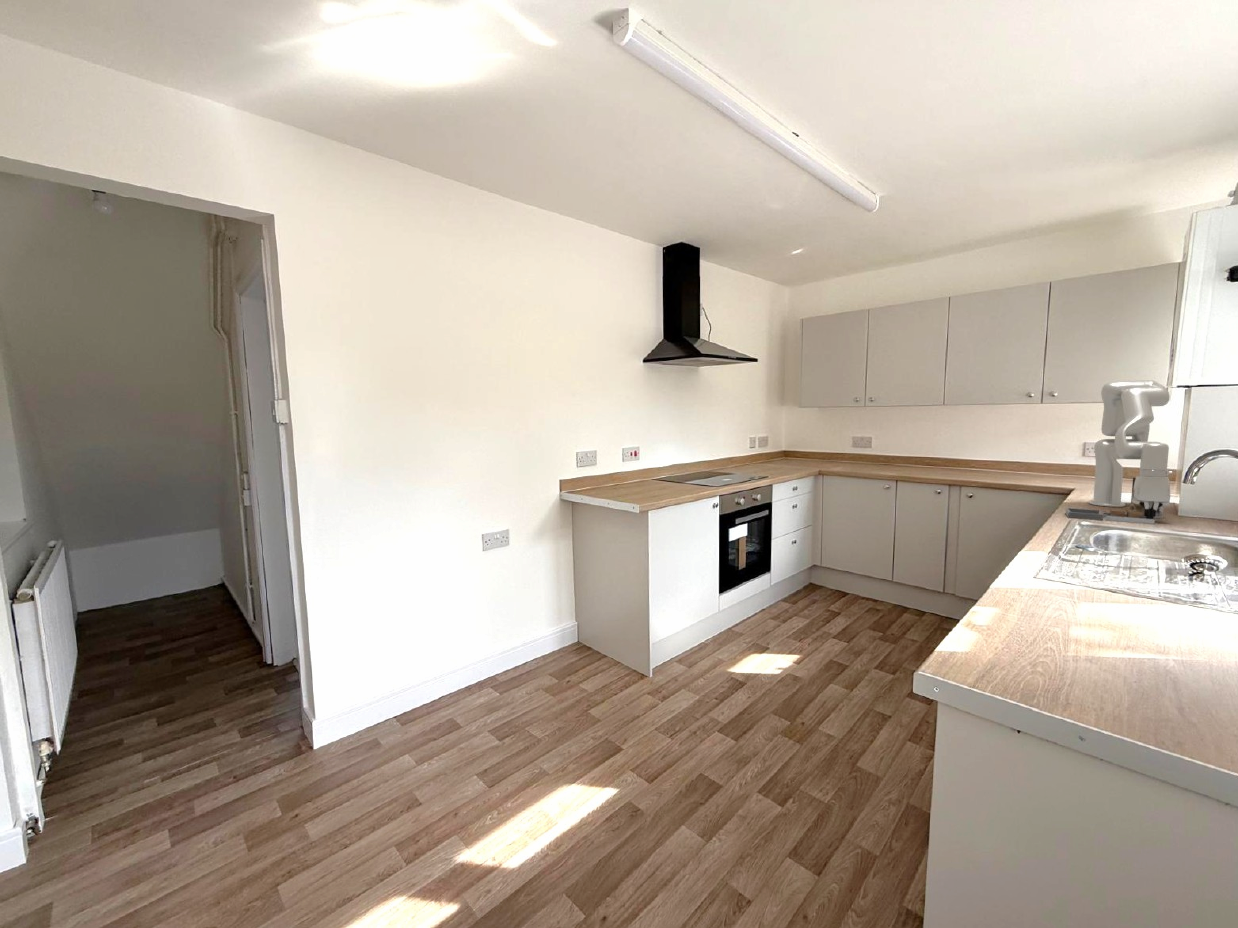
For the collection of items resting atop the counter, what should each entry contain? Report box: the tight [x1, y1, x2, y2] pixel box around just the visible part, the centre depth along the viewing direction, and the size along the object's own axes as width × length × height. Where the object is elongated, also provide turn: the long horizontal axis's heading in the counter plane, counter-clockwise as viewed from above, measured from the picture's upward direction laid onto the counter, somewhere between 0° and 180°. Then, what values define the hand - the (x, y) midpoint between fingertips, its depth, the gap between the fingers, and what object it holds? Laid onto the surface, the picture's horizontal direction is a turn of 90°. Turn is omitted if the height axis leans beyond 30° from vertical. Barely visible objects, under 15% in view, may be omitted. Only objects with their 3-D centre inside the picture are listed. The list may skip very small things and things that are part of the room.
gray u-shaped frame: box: [1064, 507, 1104, 521], centre depth 216 cm, size 12×11×2 cm
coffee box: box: [1129, 477, 1165, 519], centre depth 215 cm, size 9×6×16 cm
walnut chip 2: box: [1126, 509, 1143, 518], centre depth 207 cm, size 4×4×4 cm
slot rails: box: [1101, 511, 1156, 525], centre depth 208 cm, size 10×14×2 cm
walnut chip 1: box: [1109, 508, 1126, 517], centre depth 210 cm, size 4×4×4 cm
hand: (1149, 518), depth 204 cm, fingers closed
